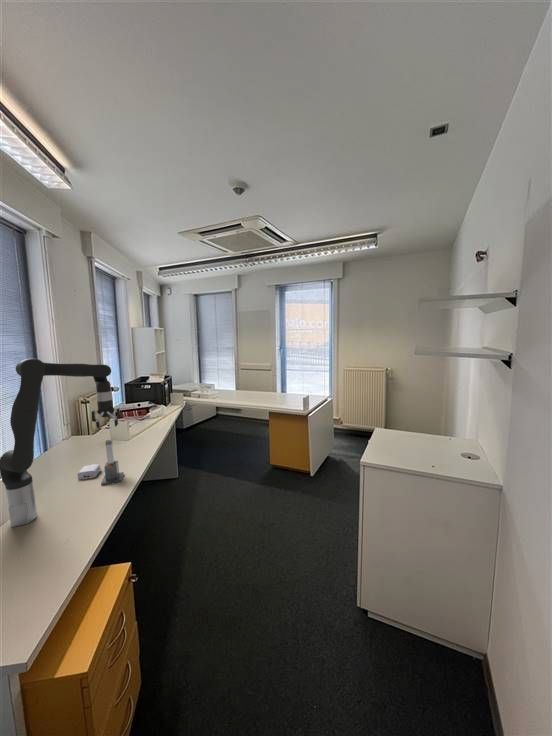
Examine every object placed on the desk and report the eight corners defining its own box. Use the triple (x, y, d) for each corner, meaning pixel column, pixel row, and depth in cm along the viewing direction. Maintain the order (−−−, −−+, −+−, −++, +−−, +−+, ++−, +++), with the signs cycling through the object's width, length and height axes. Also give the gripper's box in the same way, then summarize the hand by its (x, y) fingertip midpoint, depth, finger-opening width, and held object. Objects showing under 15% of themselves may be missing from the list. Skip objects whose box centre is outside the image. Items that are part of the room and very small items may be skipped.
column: (114, 469, 166) (111, 441, 164) (108, 470, 165) (105, 441, 163) (115, 466, 169) (112, 439, 167) (109, 467, 168) (106, 440, 166)
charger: (103, 466, 186) (95, 477, 171) (87, 469, 184) (78, 480, 169) (103, 460, 185) (94, 470, 171) (86, 462, 183) (77, 472, 169)
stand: (121, 482, 165) (119, 465, 164) (101, 485, 162) (99, 468, 160) (123, 474, 174) (122, 458, 173) (105, 477, 171) (103, 461, 170)
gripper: (88, 402, 156) (91, 430, 158) (117, 399, 161) (120, 427, 163) (91, 399, 163) (94, 426, 165) (119, 396, 168) (122, 423, 170)
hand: (107, 427), depth 164 cm, fingers open, 8 cm apart
